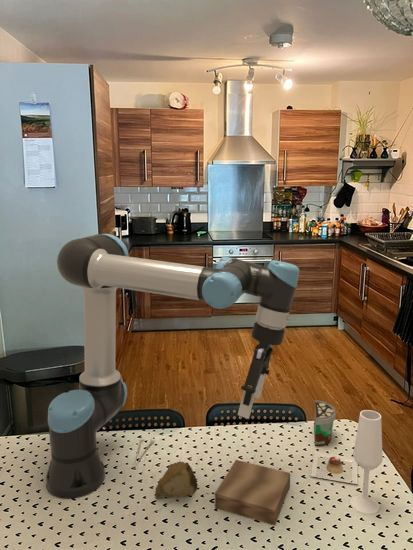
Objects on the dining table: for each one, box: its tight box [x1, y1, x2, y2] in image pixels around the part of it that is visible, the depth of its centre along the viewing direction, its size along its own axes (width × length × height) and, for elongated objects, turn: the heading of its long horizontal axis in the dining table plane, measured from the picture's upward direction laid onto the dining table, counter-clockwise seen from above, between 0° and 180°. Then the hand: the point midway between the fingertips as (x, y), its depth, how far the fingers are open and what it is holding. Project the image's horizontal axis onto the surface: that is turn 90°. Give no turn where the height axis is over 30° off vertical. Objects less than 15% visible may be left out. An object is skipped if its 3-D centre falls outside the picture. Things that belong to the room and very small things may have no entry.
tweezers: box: [132, 438, 155, 470], centre depth 134 cm, size 17×5×2 cm, turn 171°
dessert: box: [310, 451, 359, 485], centre depth 127 cm, size 12×12×5 cm
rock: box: [155, 461, 199, 499], centre depth 118 cm, size 11×9×10 cm
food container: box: [313, 399, 337, 447], centre depth 141 cm, size 12×6×10 cm, turn 168°
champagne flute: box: [349, 409, 384, 515], centre depth 111 cm, size 7×7×24 cm
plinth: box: [214, 459, 291, 526], centre depth 116 cm, size 15×15×4 cm
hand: (249, 406), depth 114 cm, fingers open, 13 cm apart
